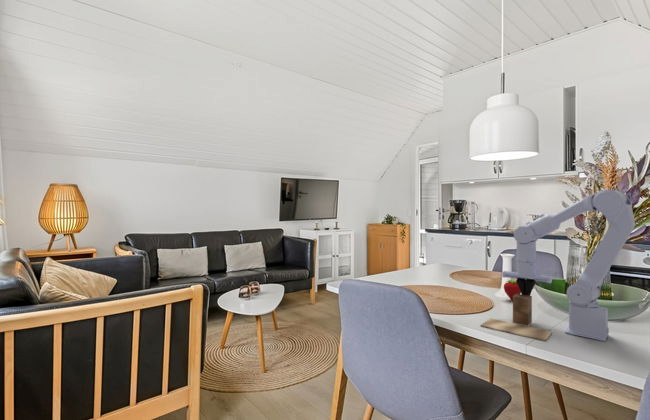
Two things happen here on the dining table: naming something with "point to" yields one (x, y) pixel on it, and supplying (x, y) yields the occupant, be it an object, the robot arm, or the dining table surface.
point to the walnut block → (522, 309)
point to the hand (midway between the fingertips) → (526, 300)
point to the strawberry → (511, 288)
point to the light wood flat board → (517, 329)
